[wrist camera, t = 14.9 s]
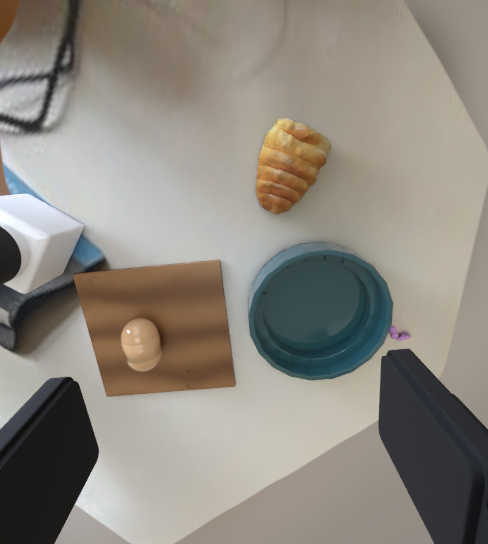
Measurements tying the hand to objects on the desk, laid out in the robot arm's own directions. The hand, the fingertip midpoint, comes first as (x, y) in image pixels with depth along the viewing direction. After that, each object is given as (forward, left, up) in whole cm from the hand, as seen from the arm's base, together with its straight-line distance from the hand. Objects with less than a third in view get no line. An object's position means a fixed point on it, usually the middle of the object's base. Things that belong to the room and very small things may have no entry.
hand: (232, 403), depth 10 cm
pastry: (-7, +6, -28) cm, 30 cm away
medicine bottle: (-2, -23, -28) cm, 37 cm away
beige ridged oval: (+12, -12, -27) cm, 32 cm away
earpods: (+15, +19, -28) cm, 37 cm away
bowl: (+10, +8, -28) cm, 31 cm away
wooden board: (+12, -12, -28) cm, 33 cm away
